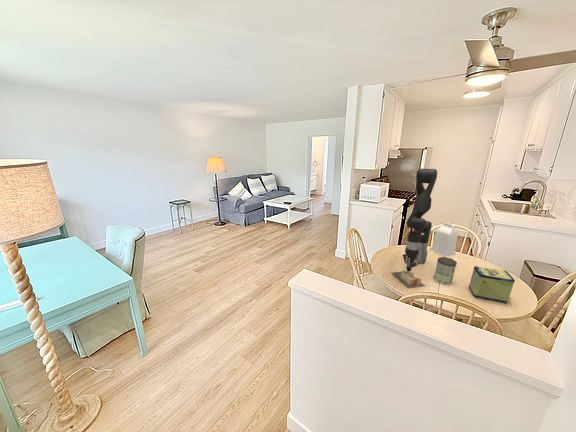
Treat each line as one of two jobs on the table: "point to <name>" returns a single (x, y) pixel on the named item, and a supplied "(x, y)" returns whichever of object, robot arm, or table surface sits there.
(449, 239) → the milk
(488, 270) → the protein box
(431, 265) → the table surface
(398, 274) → the mat
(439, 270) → the coffee can
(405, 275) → the block
